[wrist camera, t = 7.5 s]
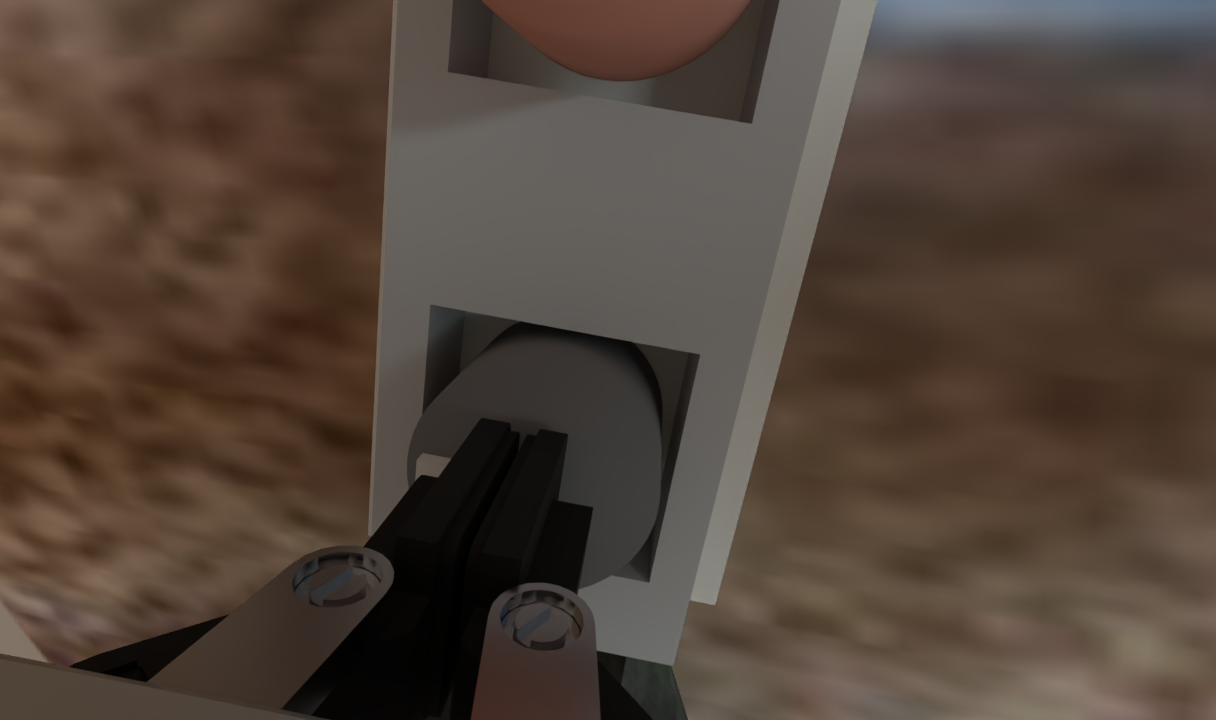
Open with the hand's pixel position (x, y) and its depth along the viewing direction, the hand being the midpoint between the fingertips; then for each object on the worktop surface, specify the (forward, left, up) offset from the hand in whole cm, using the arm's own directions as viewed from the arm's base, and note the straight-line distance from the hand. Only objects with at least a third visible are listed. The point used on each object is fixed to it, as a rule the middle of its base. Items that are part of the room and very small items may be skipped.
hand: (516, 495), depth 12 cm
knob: (0, 0, -4) cm, 4 cm away
